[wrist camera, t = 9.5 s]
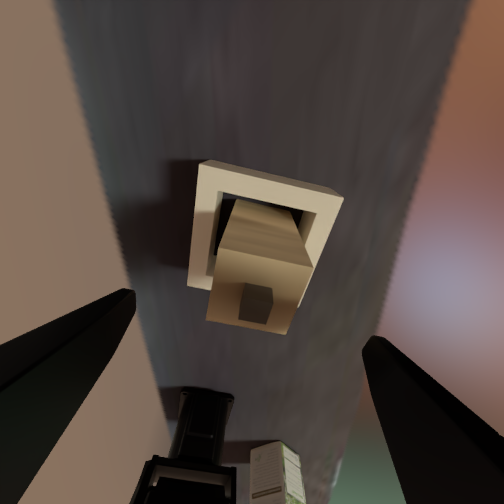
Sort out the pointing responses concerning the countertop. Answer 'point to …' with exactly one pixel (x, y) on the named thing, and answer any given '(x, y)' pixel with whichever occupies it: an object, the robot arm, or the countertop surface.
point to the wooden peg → (259, 269)
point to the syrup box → (275, 475)
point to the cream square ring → (261, 188)
